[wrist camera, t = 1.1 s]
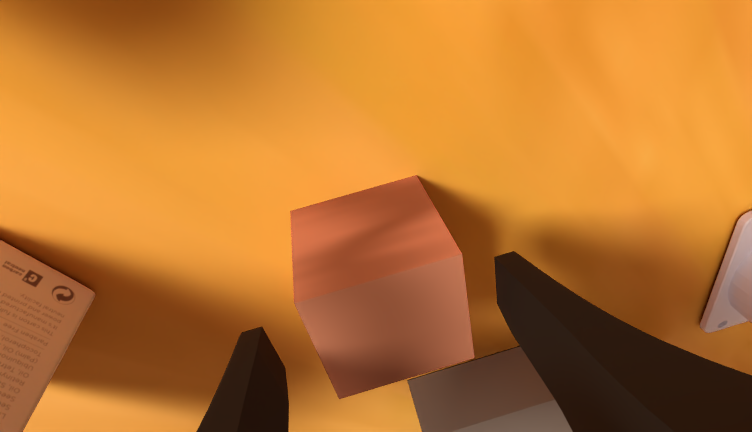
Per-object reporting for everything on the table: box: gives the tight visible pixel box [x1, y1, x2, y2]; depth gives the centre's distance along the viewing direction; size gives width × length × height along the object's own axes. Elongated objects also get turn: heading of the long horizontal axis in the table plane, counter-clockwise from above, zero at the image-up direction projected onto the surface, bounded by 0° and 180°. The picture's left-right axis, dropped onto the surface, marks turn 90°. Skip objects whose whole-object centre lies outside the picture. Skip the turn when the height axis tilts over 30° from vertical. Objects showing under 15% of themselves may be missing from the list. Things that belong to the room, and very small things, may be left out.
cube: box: [290, 175, 474, 399], centre depth 14 cm, size 4×4×4 cm
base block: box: [408, 346, 573, 432], centre depth 23 cm, size 10×10×3 cm
